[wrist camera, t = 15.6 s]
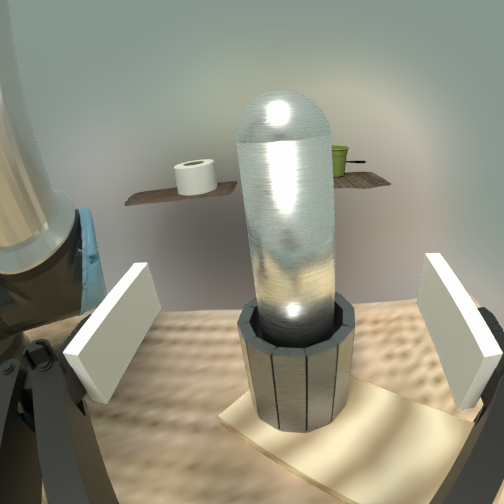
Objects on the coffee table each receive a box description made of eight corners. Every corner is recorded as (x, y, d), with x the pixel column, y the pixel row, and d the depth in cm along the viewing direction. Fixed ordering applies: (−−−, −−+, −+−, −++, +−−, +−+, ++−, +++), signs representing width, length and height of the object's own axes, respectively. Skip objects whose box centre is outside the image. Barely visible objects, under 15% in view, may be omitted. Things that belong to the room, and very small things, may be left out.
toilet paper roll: (220, 182, 130) (217, 157, 125) (212, 193, 116) (208, 164, 111) (184, 186, 132) (180, 162, 127) (173, 197, 118) (167, 170, 114)
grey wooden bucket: (234, 402, 33) (215, 325, 28) (291, 351, 39) (286, 275, 34) (309, 448, 26) (310, 375, 21) (362, 383, 32) (373, 304, 27)
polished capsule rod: (334, 366, 25) (331, 85, 16) (259, 367, 27) (220, 95, 17) (329, 303, 34) (320, 90, 24) (269, 305, 35) (244, 96, 25)
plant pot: (354, 177, 116) (353, 148, 111) (324, 180, 116) (322, 150, 111) (344, 171, 126) (343, 144, 121) (316, 173, 126) (314, 146, 121)
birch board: (220, 423, 32) (217, 415, 31) (294, 357, 40) (294, 349, 39) (470, 551, 12) (477, 547, 11) (512, 444, 20) (518, 437, 20)
